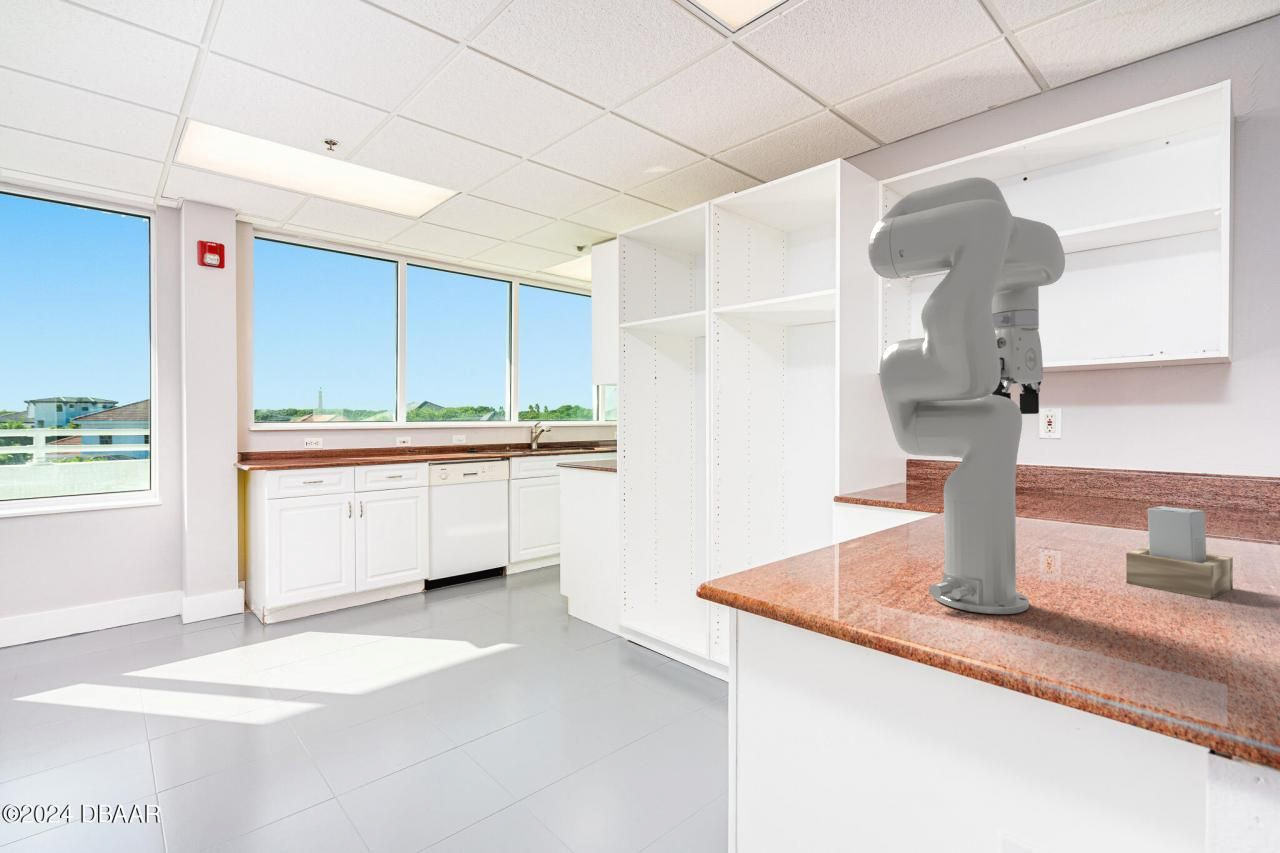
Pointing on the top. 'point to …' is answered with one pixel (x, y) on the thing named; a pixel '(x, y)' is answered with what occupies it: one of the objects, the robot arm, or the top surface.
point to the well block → (1180, 573)
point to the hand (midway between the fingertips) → (1015, 414)
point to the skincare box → (1177, 533)
